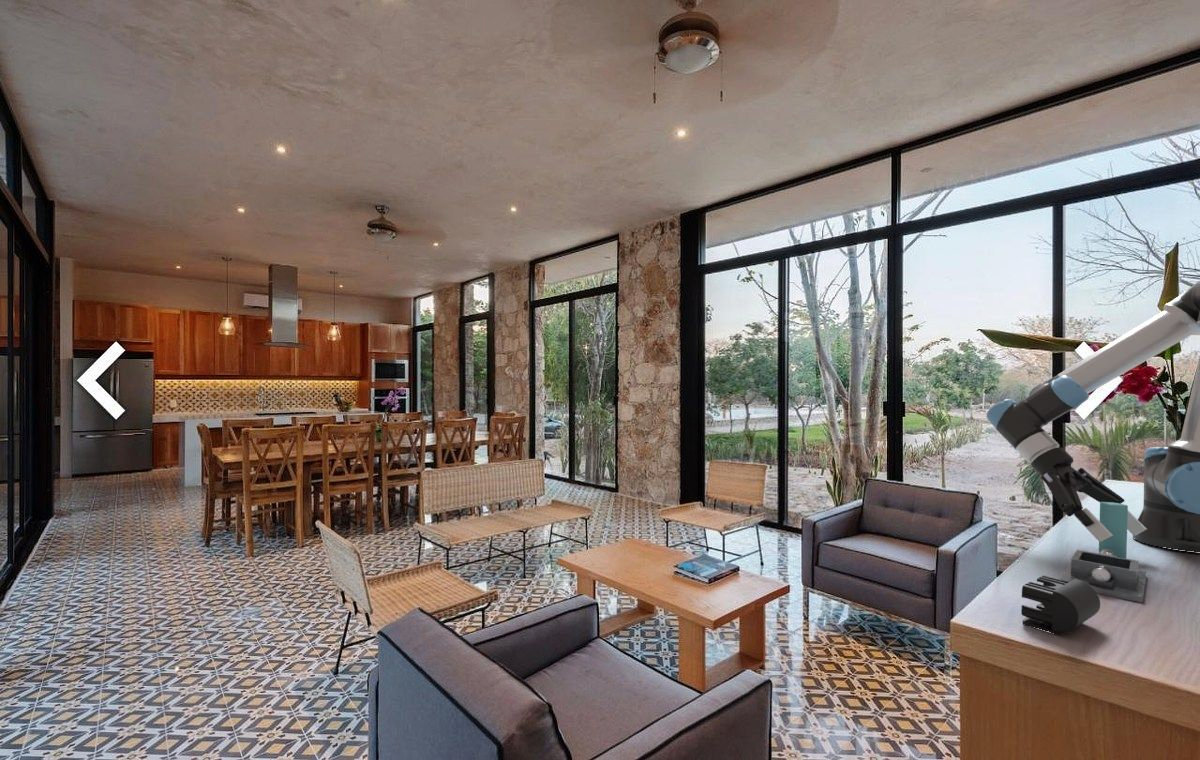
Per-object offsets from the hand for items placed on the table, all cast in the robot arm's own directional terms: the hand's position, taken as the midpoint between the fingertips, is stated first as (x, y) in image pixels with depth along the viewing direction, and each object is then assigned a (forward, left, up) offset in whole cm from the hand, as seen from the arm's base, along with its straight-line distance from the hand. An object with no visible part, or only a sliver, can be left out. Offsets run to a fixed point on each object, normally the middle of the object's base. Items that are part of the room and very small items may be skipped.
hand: (1124, 535), depth 117 cm
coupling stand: (+17, +8, -6) cm, 19 cm away
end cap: (+46, +21, -6) cm, 51 cm away
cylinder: (0, -2, -6) cm, 6 cm away
